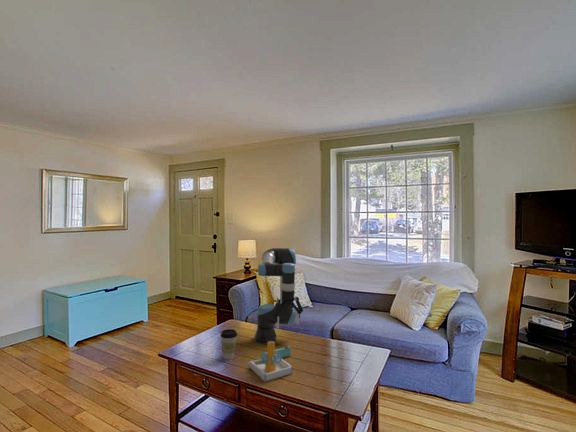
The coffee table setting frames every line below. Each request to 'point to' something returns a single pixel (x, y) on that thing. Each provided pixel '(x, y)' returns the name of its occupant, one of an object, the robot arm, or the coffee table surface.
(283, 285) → the robot arm
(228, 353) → the coffee cup
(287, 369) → the white square tray
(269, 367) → the orange tube with rings
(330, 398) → the coffee table surface
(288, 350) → the gate
